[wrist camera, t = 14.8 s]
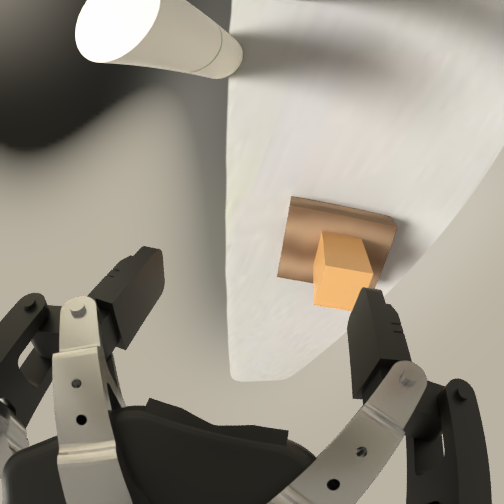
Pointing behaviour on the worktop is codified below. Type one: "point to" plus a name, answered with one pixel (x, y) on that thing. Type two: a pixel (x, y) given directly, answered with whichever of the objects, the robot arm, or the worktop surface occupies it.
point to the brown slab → (334, 221)
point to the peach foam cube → (340, 271)
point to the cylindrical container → (156, 37)
